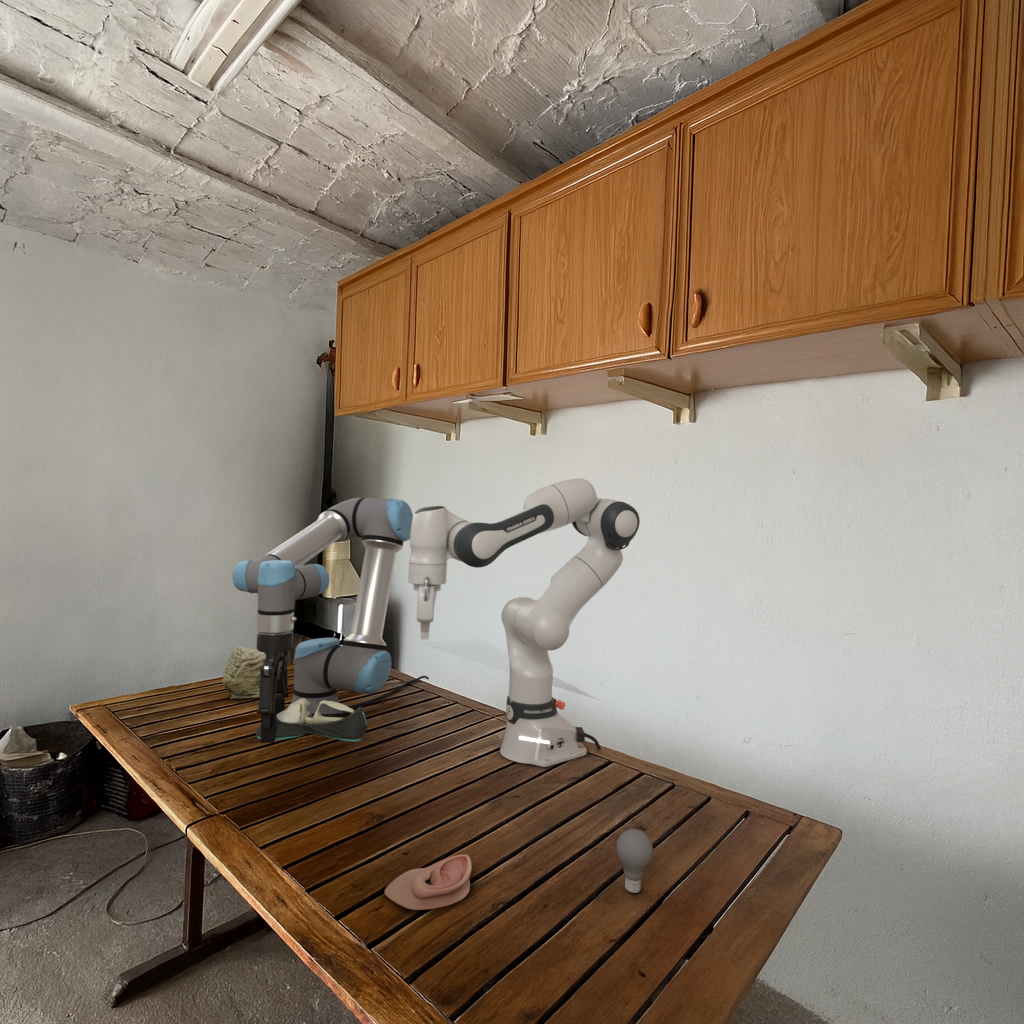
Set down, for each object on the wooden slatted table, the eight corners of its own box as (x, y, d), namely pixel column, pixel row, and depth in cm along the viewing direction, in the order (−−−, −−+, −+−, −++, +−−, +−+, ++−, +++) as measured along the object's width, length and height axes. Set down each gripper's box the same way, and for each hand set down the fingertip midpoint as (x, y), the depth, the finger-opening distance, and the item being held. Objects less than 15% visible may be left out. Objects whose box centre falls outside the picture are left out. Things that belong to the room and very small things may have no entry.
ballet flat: (261, 728, 143) (262, 692, 143) (369, 729, 146) (371, 694, 145) (250, 743, 135) (251, 705, 135) (365, 744, 137) (366, 706, 137)
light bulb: (610, 879, 108) (613, 822, 108) (644, 879, 109) (647, 822, 109) (619, 902, 102) (622, 840, 102) (655, 901, 103) (658, 840, 103)
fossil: (218, 695, 195) (220, 647, 195) (278, 685, 208) (279, 640, 207) (228, 703, 189) (230, 653, 188) (289, 692, 201) (290, 645, 201)
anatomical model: (377, 878, 99) (404, 840, 110) (376, 903, 99) (403, 863, 111) (458, 893, 97) (478, 852, 108) (457, 918, 97) (476, 875, 108)
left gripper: (281, 643, 129) (278, 754, 129) (303, 621, 149) (300, 717, 150) (242, 643, 128) (240, 754, 129) (270, 621, 148) (267, 717, 149)
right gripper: (441, 581, 138) (438, 644, 138) (441, 570, 158) (438, 625, 158) (411, 580, 137) (409, 644, 137) (415, 569, 157) (413, 625, 158)
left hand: (272, 734), depth 139 cm, fingers closed on ballet flat, 8 cm apart
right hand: (425, 634), depth 148 cm, fingers open, 8 cm apart
